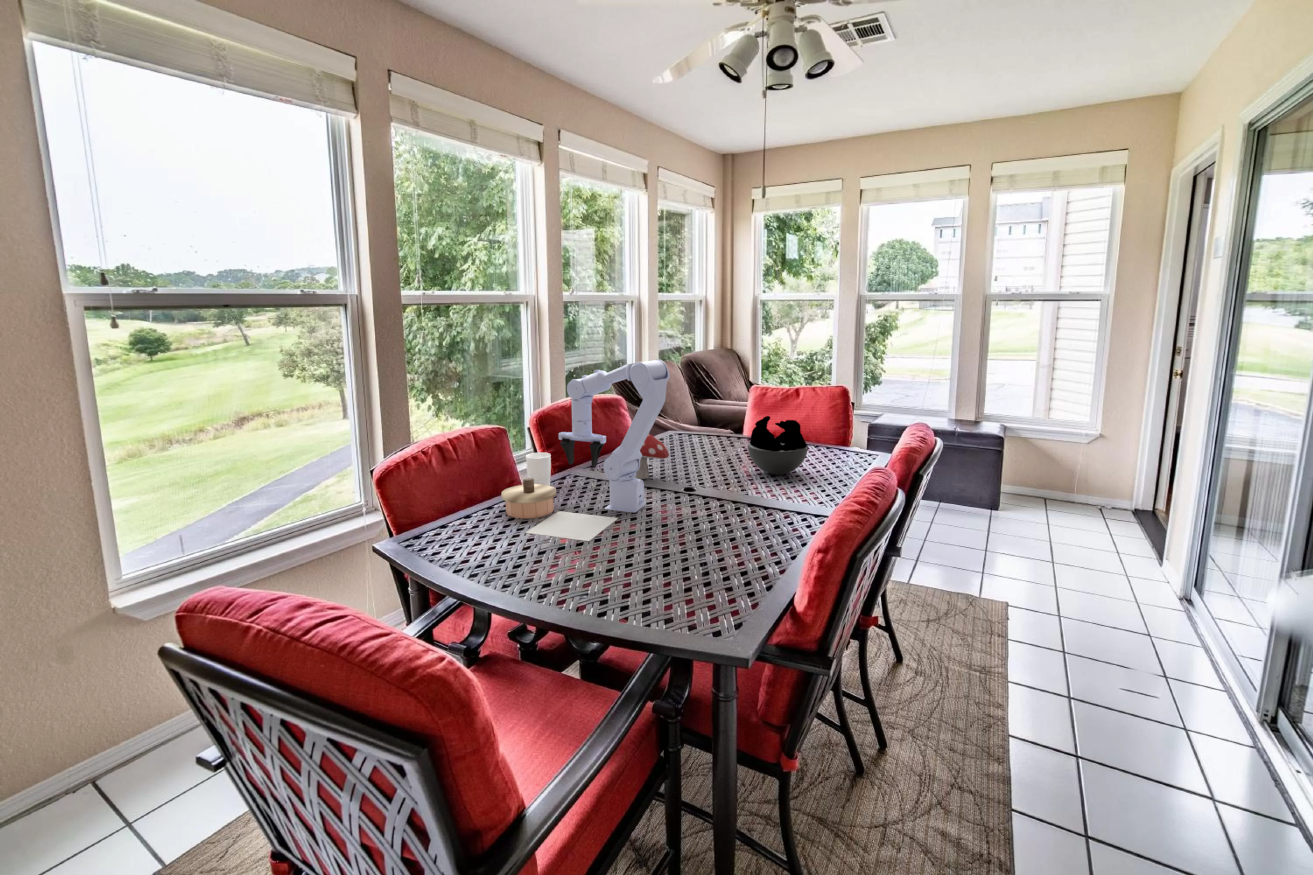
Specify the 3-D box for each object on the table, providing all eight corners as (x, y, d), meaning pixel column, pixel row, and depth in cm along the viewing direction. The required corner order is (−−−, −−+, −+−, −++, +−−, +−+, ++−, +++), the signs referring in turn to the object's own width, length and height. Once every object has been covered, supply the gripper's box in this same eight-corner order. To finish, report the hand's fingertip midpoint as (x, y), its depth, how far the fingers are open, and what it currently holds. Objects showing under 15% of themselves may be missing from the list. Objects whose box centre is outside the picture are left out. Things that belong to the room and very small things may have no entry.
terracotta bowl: (562, 507, 187) (561, 490, 186) (538, 521, 175) (538, 504, 174) (522, 502, 191) (521, 486, 190) (497, 516, 179) (496, 499, 178)
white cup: (556, 483, 211) (555, 453, 209) (542, 490, 204) (541, 459, 202) (536, 481, 214) (535, 451, 212) (522, 487, 207) (520, 456, 205)
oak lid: (565, 489, 187) (564, 474, 186) (541, 505, 173) (540, 489, 172) (518, 485, 191) (517, 470, 190) (491, 500, 177) (490, 484, 176)
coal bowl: (812, 481, 211) (815, 424, 207) (750, 481, 212) (752, 424, 208) (800, 466, 231) (802, 413, 227) (743, 466, 231) (744, 414, 227)
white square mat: (618, 519, 176) (618, 518, 176) (588, 542, 160) (588, 541, 160) (559, 512, 182) (559, 511, 182) (524, 534, 166) (524, 532, 166)
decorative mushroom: (640, 469, 227) (640, 427, 224) (678, 476, 218) (678, 432, 215) (611, 480, 215) (610, 435, 212) (650, 487, 206) (650, 441, 202)
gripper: (553, 420, 189) (554, 465, 192) (598, 424, 184) (599, 470, 187) (564, 416, 195) (565, 460, 198) (609, 419, 190) (609, 464, 193)
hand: (582, 464), depth 193 cm, fingers open, 7 cm apart
